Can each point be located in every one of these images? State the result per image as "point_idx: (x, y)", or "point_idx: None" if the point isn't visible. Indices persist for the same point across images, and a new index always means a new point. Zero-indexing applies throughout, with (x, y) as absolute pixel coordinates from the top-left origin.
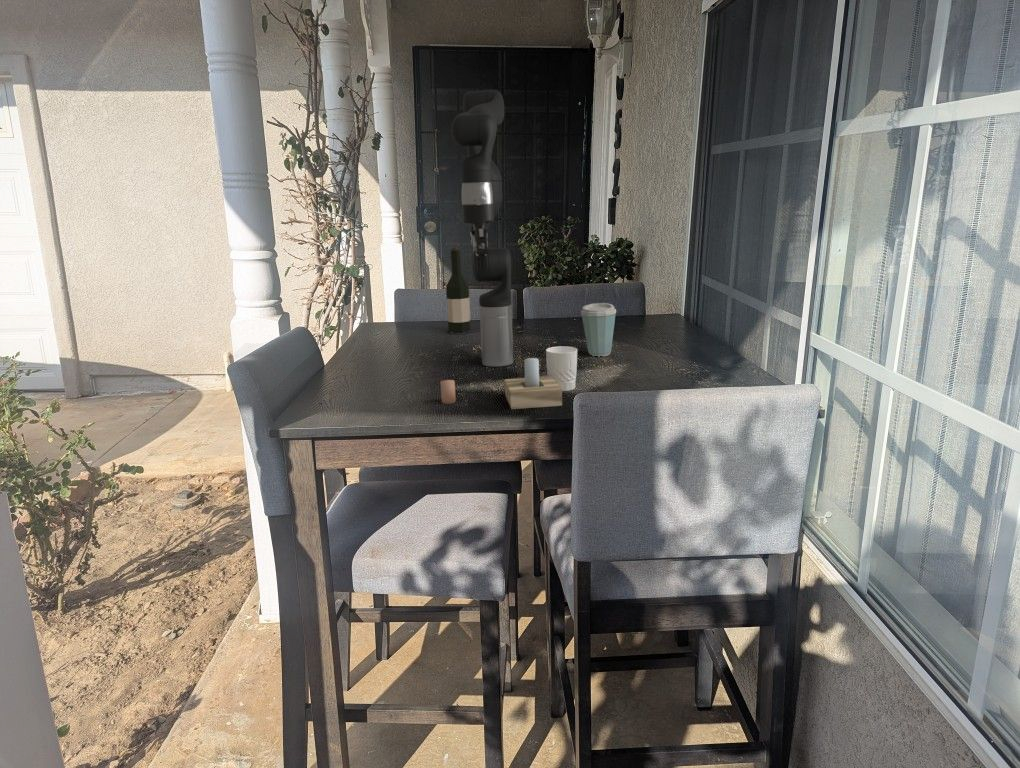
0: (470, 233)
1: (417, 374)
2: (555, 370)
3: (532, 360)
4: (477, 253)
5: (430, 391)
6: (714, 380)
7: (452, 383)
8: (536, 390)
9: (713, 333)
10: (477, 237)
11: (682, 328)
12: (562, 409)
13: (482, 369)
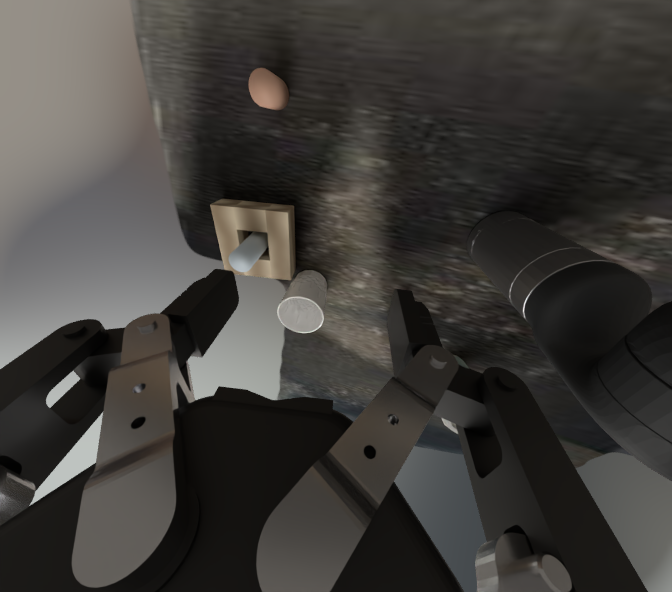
0: (305, 539)
1: (531, 28)
2: (288, 288)
3: (234, 261)
4: (72, 324)
5: (357, 55)
6: (300, 394)
7: (254, 100)
8: (220, 242)
9: (461, 452)
10: None
11: None
12: (220, 259)
13: (471, 203)
